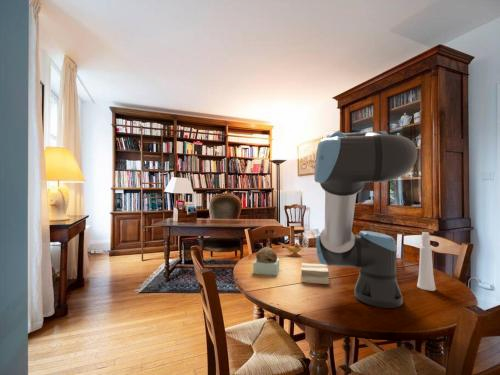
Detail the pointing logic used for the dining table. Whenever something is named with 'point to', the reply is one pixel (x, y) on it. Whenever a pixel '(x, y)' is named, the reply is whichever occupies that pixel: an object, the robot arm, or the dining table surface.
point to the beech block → (315, 273)
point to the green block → (266, 267)
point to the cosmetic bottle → (426, 265)
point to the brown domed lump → (266, 255)
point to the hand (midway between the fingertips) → (335, 217)
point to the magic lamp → (294, 248)
